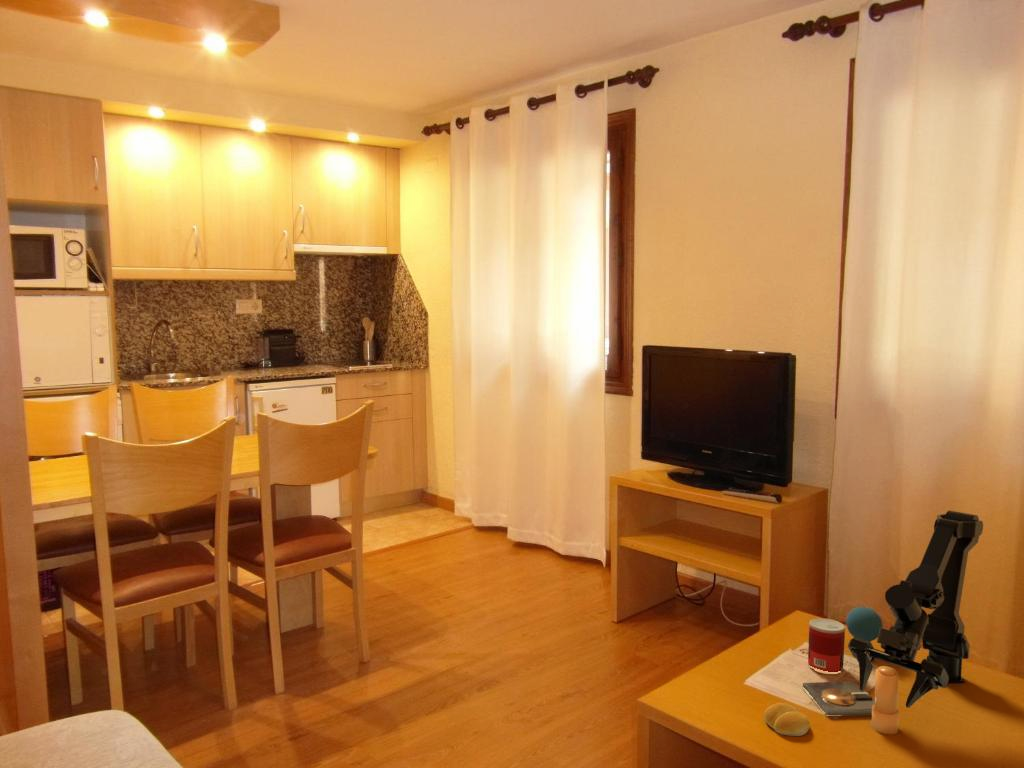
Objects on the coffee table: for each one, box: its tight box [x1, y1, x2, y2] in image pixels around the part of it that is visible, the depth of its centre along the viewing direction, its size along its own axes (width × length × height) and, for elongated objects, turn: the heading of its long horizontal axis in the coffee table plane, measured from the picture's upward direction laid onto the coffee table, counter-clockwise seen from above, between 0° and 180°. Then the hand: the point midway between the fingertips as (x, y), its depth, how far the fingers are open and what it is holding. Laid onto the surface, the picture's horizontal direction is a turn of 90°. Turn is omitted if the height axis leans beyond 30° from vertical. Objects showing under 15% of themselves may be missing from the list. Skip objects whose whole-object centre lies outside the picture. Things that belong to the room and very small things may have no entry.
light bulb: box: [845, 606, 884, 643], centre depth 194 cm, size 8×8×12 cm
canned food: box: [807, 617, 846, 672], centre depth 186 cm, size 8×8×11 cm
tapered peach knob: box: [870, 665, 900, 735], centre depth 159 cm, size 5×5×13 cm
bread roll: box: [763, 702, 810, 737], centre depth 161 cm, size 8×9×4 cm
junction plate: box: [802, 680, 875, 717], centre depth 170 cm, size 12×12×2 cm
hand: (883, 698), depth 158 cm, fingers open, 9 cm apart
